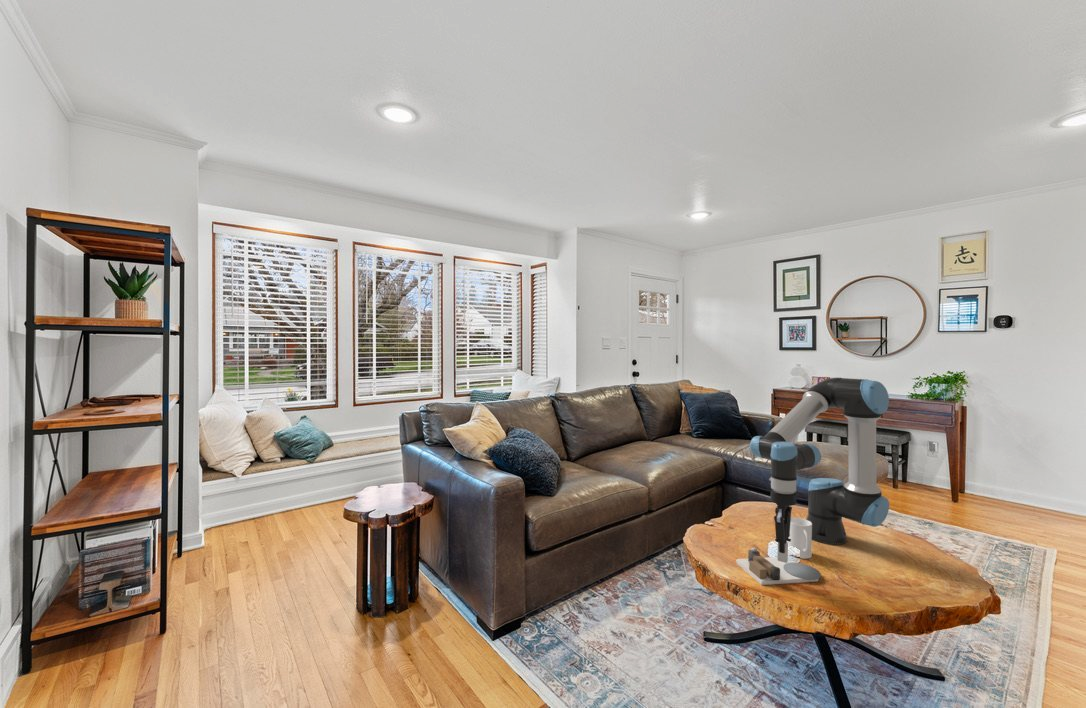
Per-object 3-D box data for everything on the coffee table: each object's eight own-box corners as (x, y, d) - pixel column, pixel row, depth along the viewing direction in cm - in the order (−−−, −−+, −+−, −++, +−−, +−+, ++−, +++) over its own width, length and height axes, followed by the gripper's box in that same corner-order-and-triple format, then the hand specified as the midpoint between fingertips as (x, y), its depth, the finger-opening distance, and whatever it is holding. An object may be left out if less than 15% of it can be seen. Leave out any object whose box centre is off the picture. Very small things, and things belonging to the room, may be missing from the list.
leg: (782, 579, 149) (783, 569, 149) (772, 580, 148) (772, 570, 148) (755, 558, 163) (755, 549, 163) (746, 559, 162) (746, 549, 162)
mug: (818, 564, 163) (819, 530, 163) (792, 561, 165) (793, 528, 165) (807, 549, 175) (808, 518, 174) (782, 547, 177) (783, 516, 176)
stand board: (795, 559, 167) (796, 541, 167) (828, 582, 151) (829, 563, 151) (736, 562, 164) (736, 545, 164) (763, 586, 148) (763, 567, 148)
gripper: (776, 482, 159) (775, 550, 160) (765, 493, 149) (764, 565, 150) (800, 487, 154) (799, 556, 155) (791, 498, 144) (790, 572, 145)
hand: (782, 560), depth 152 cm, fingers closed
